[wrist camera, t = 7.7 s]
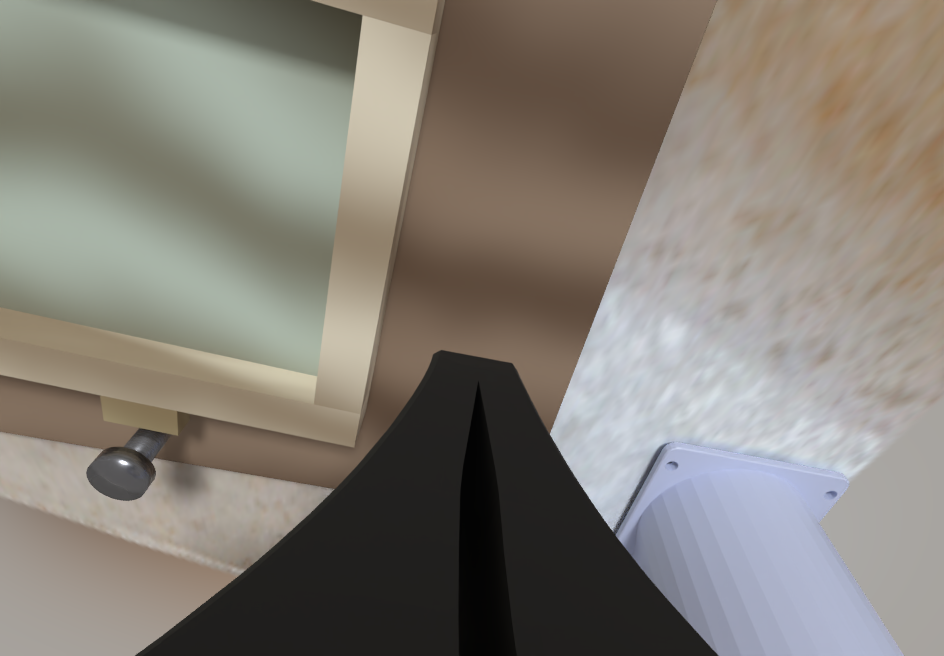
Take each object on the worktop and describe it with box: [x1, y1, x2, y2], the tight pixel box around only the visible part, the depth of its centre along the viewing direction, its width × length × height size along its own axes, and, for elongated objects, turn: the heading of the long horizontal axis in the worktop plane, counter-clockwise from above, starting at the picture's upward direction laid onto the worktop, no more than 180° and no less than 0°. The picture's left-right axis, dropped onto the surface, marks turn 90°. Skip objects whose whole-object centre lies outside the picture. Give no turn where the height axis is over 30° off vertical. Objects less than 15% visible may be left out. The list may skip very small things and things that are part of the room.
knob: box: [87, 428, 172, 501], centre depth 19 cm, size 2×2×5 cm
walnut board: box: [0, 0, 717, 489], centre depth 16 cm, size 23×24×1 cm
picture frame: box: [0, 0, 445, 448], centre depth 15 cm, size 15×14×2 cm
